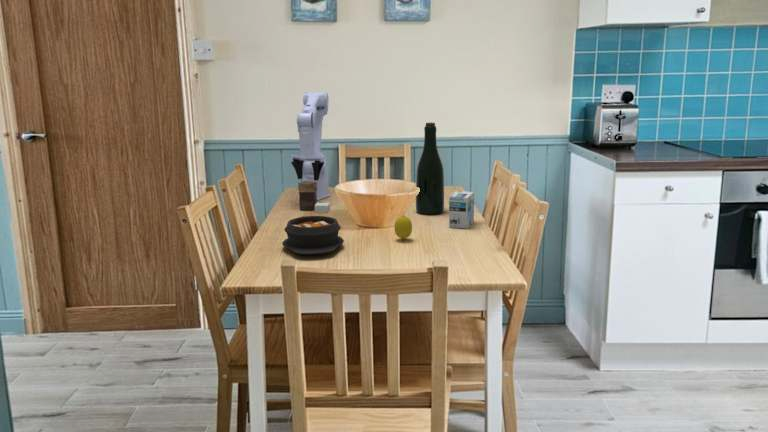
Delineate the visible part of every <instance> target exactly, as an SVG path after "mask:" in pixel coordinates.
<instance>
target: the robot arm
mask: <svg viewBox="0 0 768 432" xmlns="http://www.w3.org/2000/svg"><path fill="white" fill-rule="evenodd" d="M302 100H303V101H302V102H303V107H302V109H301V110H300V111H301V112H299V113H298V114H297V115H296V125H297V133H298V138H299V139H298V140H299V141H298V143H299V144H298V145H299V154H291V155H290V163H291V165H292V167H293V169H294V171H295V174H296V176H297V180H301V179H303V176H304V177H305V181H312V182H317V190H316V192H317V201H319V200H322V199H325V198H328V197H330V196H331V194H330V193H329V179H328V177H327V176H326V175H327V173H328V163H327V162H328V160H327V157H326V156H325V155H324V154H323V153H321V150H322V147H321V146H322V132H323V130H322V129H323V120H324V117H325V116H326V115H328V112H329V94H328V92H327V91H323V92H322V91H321V92H320V91H319V92H318V91H315V92H314V91H313V92H311V91H310V92H309V91H304V92H303V95H302Z"/></svg>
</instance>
